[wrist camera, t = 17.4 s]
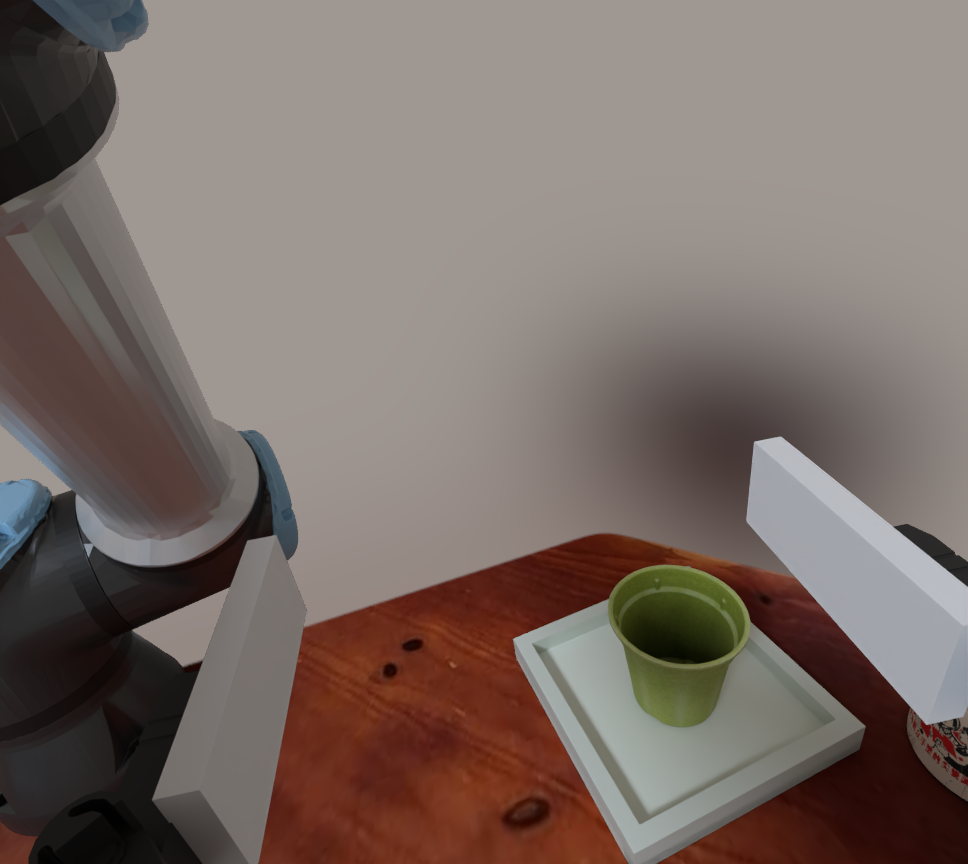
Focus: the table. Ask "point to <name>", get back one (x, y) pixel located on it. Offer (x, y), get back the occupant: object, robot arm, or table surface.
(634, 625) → the plant pot
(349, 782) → the table surface
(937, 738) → the teacup with lid
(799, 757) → the tray
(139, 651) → the robot arm
